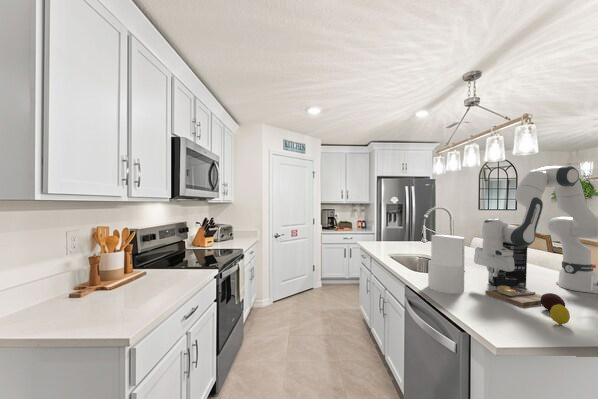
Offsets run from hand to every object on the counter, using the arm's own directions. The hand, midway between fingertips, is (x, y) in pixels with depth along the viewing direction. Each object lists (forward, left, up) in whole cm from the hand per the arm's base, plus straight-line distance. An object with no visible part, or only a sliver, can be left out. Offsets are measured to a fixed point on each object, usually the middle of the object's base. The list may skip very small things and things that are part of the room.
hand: (493, 276), depth 149 cm
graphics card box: (-18, -6, -9) cm, 21 cm away
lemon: (+13, +38, -9) cm, 41 cm away
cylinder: (+20, -11, -9) cm, 24 cm away
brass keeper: (+3, +10, -6) cm, 12 cm away
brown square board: (-2, +11, -8) cm, 14 cm away
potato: (0, +27, -9) cm, 29 cm away
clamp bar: (-3, +12, -6) cm, 13 cm away
